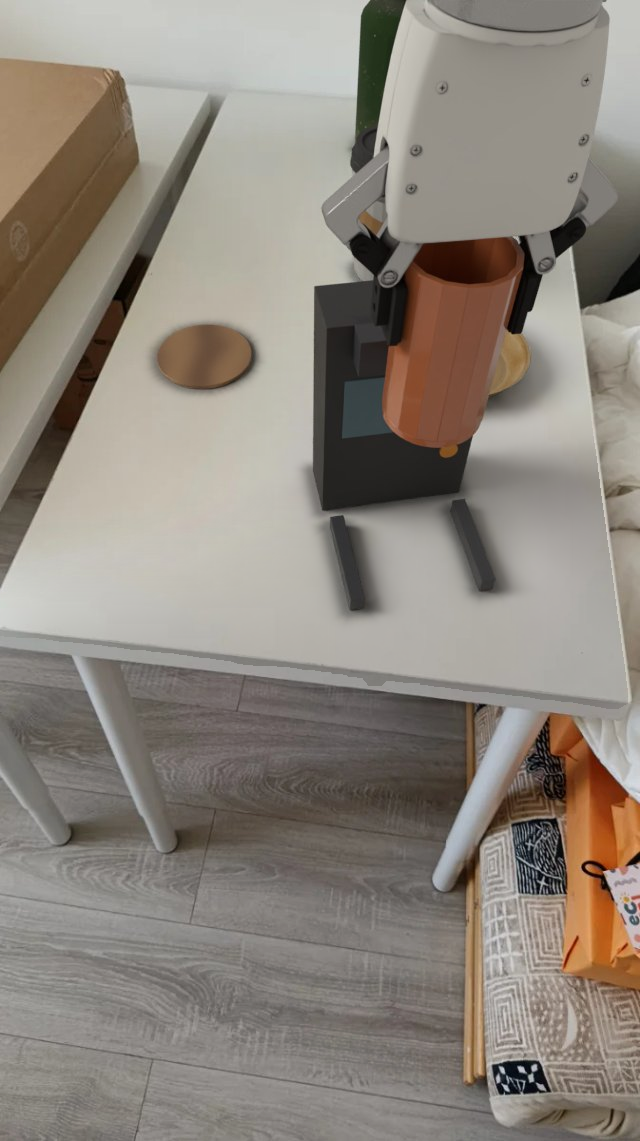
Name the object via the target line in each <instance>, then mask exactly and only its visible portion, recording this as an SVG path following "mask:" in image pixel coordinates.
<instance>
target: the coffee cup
mask: <svg viewBox="0 0 640 1141" xmlns="http://www.w3.org/2000/svg"><path fill="white" fill-rule="evenodd" d="M377 130H378V125H377V126H373V127H369V128H367V129H365V130H363V131H362V132H361V133H359V135H358V136H357V138H356V143H355V142H354V145H352V147H351V156H350V160H349V166H350V167H351V178H352V177H353V176H354V175H355V174H356V173H357V172H358V171H359V170H361V169H362V168H363V167H364V166H365V165H366V164H367V163H368V162H370V161H371V160H372V159H373V158H374V150H375V143H376V136H377ZM387 216H388V214H387V213H386V204H384V203H381V202H379V201H376V202H375V203H374V204H372V205H371V206H370V207H369V208H368V209H367V210H365V211H364V212H363V213H362V214H361V215H360V216H359V218H358V219H359V221H360V222H361V223H363V224H365V225H366V226H367V227H368V228H369V229H370V230H371V231H372V232H373V233H374V234H375V235H377V233H378V232H379V230H380V228H381V227H382V225H383V223H384V221H385V220H386V218H387ZM353 269H354V272H355V273H356V275H357V277H358V278H359V279H360V280H361V281H370V280H373V277H374V275H373V274H372V273H371V272H370V271H369V270H368V269H367V268H366V267H364V266H363V265H362V264H361V263H360V262H359V261H358V260H357V259H356V258H355V257H354V256H353Z"/></svg>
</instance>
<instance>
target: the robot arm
mask: <svg viewBox="0 0 640 1141" xmlns="http://www.w3.org/2000/svg"><path fill="white" fill-rule="evenodd" d="M607 1H608V0H406V3H405V6H404V9H403V13H402V16H401V20H400V23H399V26H398V30H397V34H396V38H395V42H394V46H393V50H392V54H391V59H390V64H389V69H388V74H387V78H386V83H385V89H384V94H383V100H382V105H381V112H380V117H379V123H378V130H377V136H376V143H375V150H374V158H373V159H372V160H371V161H370V162H368V163H367V164H366V165H365V166H364V167H363V168H362V169H361V170H359V171H358V172H357V173H356V174H355V175H354V176H353V177H352V176H351V177H350V178H349V179H348V180H347V181H346V182H345V183H344V184H342V185H341V186H340V187H339V188H338V189H337V190H336V191H334V193H333V194H331V195H330V196H329V197H327V199H326V200H324V202H323V203H322V205H321V208H320V209H321V213H322V216H323V220H324V222H325V225H326V227H327V228H328V229H329V230H330V231H331V232H332V234H334V235H335V237H336V238H337V239H338V240H339V241H340V243H342V245H344V246H345V247H346V248H347V249H348V250H349V251H350V252H351V254H352V256H353V258H354V257H355V258H356V259H357V260H358V261H359V262H360V263H361V264H362V265H363V266H364V267H366V268H367V269H368V270H369V271H370V272H371V273H372V274H373V275H374V277H373V288H372V298H371V317H372V321H373V324H374V326H381V328H382V330H383V333H384V336H385V339H386V342H387V344H388V346H397V345H398V343H401V338H402V331H403V324H404V316H405V309H406V302H407V295H408V289H407V285H406V283H405V281H404V279H403V274H404V273H405V271H406V270H407V268H408V267H409V265H410V264H411V262H412V261H413V259H414V257H415V256H416V254H417V253H418V251H419V250H420V248H421V247H422V245H423V244H424V243H436V242H450V241H464V240H477V239H489V238H501V237H513V238H514V237H517V239H518V243H519V245H520V246H521V248H522V250H523V251H524V254H525V257H524V267H523V271H522V275H521V278H520V282H519V286H518V289H517V293H516V297H515V301H514V304H513V308H512V312H511V315H510V319H509V323H508V326H507V330H508V332H511V334H512V335H513V334H521V333H522V334H523V331H524V327H525V323H526V320H527V316H528V313H530V312H532V311H533V309H534V305H535V303H536V300H537V296H538V292H539V289H540V286H541V282H542V279H543V276H544V275H547V274H549V273H551V272H552V271H553V270H554V269H555V267H556V265H557V259H558V258H559V257H560V256H562V255H563V254H564V253H565V252H566V251H568V250H569V249H570V248H572V246H574V245H575V244H576V243H577V242H578V241H580V240H581V239H582V238H583V237H584V236H585V234H586V231H587V228H588V227H589V226H593V225H594V224H595V223H596V222H597V221H598V220H600V219H601V218H602V217H603V216H604V215H605V214H606V213H607V212H609V211H610V210H611V209H612V208H613V207H614V206H615V205H616V204H617V202H618V201H619V198H620V197H619V196H620V195H619V193H618V191H617V190H616V188H615V187H614V186H613V184H612V183H611V182H610V180H609V179H608V178H607V177H606V175H604V173H603V172H602V171H601V170H600V169H599V167H598V166H597V165H596V164H595V162H594V161H593V160H592V159H591V158H590V153H591V149H592V145H593V139H594V135H595V131H596V126H597V122H598V116H599V111H600V105H601V100H602V94H603V86H604V80H605V73H606V64H607V56H608V48H609V46H608V45H609V34H610V22H611V20H610V19H611V17H610V14H609V12H608V11H607V9H606V8H605V7H604V6H603V3H606V2H607ZM376 201H379V202H381V203H384V204H386V213H387V214H388V216H387V218H386V220H385V221H384V223H383V225H382V227H381V228H380V230H379V232H378V233H377V235H375V234H374V233H373V232H372V231H371V230H370V229H369V228H368V227H367V226H366V225H365V224H363V223H361V222H360V221H359V219H358V218H359V216H360V215H361V214H362V213H363V212H364V211H365V210H367V209H368V208H369V207H370V206H371V205H372V204H374V203H375V202H376Z"/></svg>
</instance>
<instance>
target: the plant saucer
mask: <svg viewBox="0 0 640 1141" xmlns="http://www.w3.org/2000/svg"><path fill="white" fill-rule="evenodd" d="M531 359H532V355H531V348H530V345H529V343H528V341H527V339H526V337H525V336H524V334H523V332H522V333H521V334H513V335H512V334H511V332H508V330H506V334H505V338H504V341H503V345H502V349H501V352H500V356H499V360H498V364H497V367H496V371H495V375H494V378H493V382H492V386H491V390H490V393H489V397H488V398H491V397H493V396H496V395H498V394H501V393H503V392H504V391H506V390H508V389H510V388H511V387H513V386H514V385H516V384H517V383H518V382H520V381H521V379H523V377H524V376H525V375H526V373H527V371H528V370H529V367H530V364H531Z"/></svg>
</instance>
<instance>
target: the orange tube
mask: <svg viewBox="0 0 640 1141" xmlns="http://www.w3.org/2000/svg"><path fill="white" fill-rule="evenodd" d="M519 244H520V242H519V240H517V239H516V238H515V237H514V236H513V237H501V238H489V239H477V240H464V241H450V242H436V243H424V244H423V245H422V247H421V248H420V250H419V251H418V253H417V254H416V256H415V257H414V259H413V261H412V262H411V264H410V265H409V267H408V268H407V270H406V271H405V273H404V274H403V279H404V281H405V283H406V285H407V289H408V295H407V302H406V309H405V316H404V324H403V331H402V338H401V343H398V345H397V346H389V350H388V358H387V366H386V374H385V382H384V390H383V399H382V413H383V417H384V419H385V422H386V423H387V425H388V426H389V428H390V429H391V430H392V431H393V432H394V433H395V434H397V435H398V436H399V437H401V438H403V439H404V440H406V441H409V442H411V443H413V444H417V445H420V446H425V447H434V448H441V447H449V446H454V445H457V444H460V443H462V442H464V441H466V440H468V439H469V438H470V437H472V436H473V437H474V435H475V434H476V433H477V431H478V430H479V428H480V426H481V424H482V422H483V419H484V415H485V412H486V407H487V404H488V400H489V398H490V397H489V393H490V390H491V386H492V382H493V378H494V375H495V371H496V367H497V364H498V360H499V356H500V352H501V349H502V345H503V341H504V338H505V334H506V330H507V326H508V323H509V319H510V315H511V312H512V308H513V304H514V301H515V297H516V293H517V289H518V286H519V282H520V278H521V275H522V271H523V267H524V257H525V254H524V251H523V250H522V248H521V246H520V245H519ZM473 437H472V438H473Z"/></svg>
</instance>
